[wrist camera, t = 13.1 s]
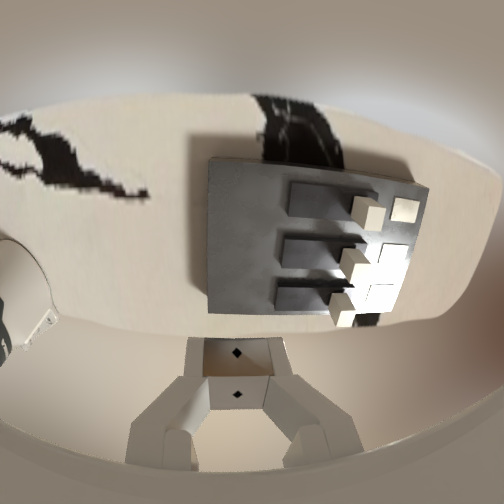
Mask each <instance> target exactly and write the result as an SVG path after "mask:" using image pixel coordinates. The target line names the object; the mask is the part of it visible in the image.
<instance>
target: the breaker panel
mask: <svg viewBox="0 0 504 504" xmlns="http://www.w3.org/2000/svg"><path fill="white" fill-rule="evenodd" d="M428 193H429V188H427V187H425V186H423V185H421V184H418V183H416V182H413V181H408V180H403V179H399V178H394V177H389V176H383V175H378V174H373V173H367V172H361V171H355V170H348V169H342V168H335V167H328V166H320V165H312V164H303V163H293V162H283V161H272V160H258V159H242V158H220V157H212V158H211V159H210V160H209V174H208V212H207V292H208V313H215V314H245V315H321V314H330V312H329V310H328V307H329V303H330V300H331V296H332V293H347V294H348V296H349V298H350V300H351V301H352V303H353V305H354V307H355V308H356V310H357V311H356V313H371V312H387V311H391V310H392V308H393V305H394V303H395V300H396V298H397V295H398V293H399V290H400V287H401V285H402V282H403V279H404V276H405V274H406V271H407V268H408V265H409V262H410V259H411V256H412V253H413V249H414V246H415V243H416V240H417V236H418V233H419V229H420V225H421V222H422V218H423V214H424V210H425V206H426V202H427V197H428ZM355 196H360V197H367V198H371V199H373V200H375V201H376V202H378V203H379V204H381V205H382V206H384V207H385V208H386V212H385V216H384V221H383V225H382V229H381V232H380V231H369V230H363V229H362V228H361V227H360V226H359V225H358V224H357V223H356V222H355V221H354V220H353V219H352V218H351V213H352V208H353V202H354V197H355ZM343 248H350V249H359V250H360V251H361V252H362V253H363V254H364V256H365V257H366V258H367V259H368V260H369V261H370V263H371V268H370V271H369V274H368V278H367V281H366V284H349V282H348V280H347V279H346V277H345V276H344V274H343V273H342V271H341V269H340V268H339V265H340V261H341V257H342V252H343Z"/></svg>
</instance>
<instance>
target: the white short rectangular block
mask: <svg viewBox="0 0 504 504" xmlns="http://www.w3.org/2000/svg"><path fill="white" fill-rule="evenodd" d="M328 310H329V312H330V315H331V317H332V319H333V322H334V324H335V326H336V327H348V326H351V325H352V322H353V319H354V317H355V314H356V311H357V310H356V308H355V307H354V305H353V303H352V301H351V300H350V298H349V296H348V294H347V293H332V296H331V300H330V303H329V307H328Z"/></svg>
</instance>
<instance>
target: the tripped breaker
mask: <svg viewBox="0 0 504 504" xmlns="http://www.w3.org/2000/svg"><path fill="white" fill-rule="evenodd" d="M385 212H386V208H385V207H384V206H382V205H381V204H379V203H378V202H376V201H375V200H373V199H371V198H367V197H360V196H355V197H354V202H353V208H352V213H351V218H352V219H353V220H354V221H355V222H356V223H357V224H358V225H359V226H360V227H361V228H362V229H363V230H369V231H380V232H381V229H382V225H383V221H384V216H385Z"/></svg>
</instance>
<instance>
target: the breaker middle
mask: <svg viewBox="0 0 504 504" xmlns="http://www.w3.org/2000/svg"><path fill="white" fill-rule="evenodd" d="M339 268H340V269H341V271H342V273H343V274H344V276H345V277H346V279H347V280H348V282H349V284H366V281H367V278H368V274H369V271H370V268H371V263H370V261H369V260H368V259H367V258H366V257H365V256H364V254H363V253H362V252H361V251H360V250H359V249H350V248H343V252H342V257H341V261H340V265H339Z"/></svg>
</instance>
